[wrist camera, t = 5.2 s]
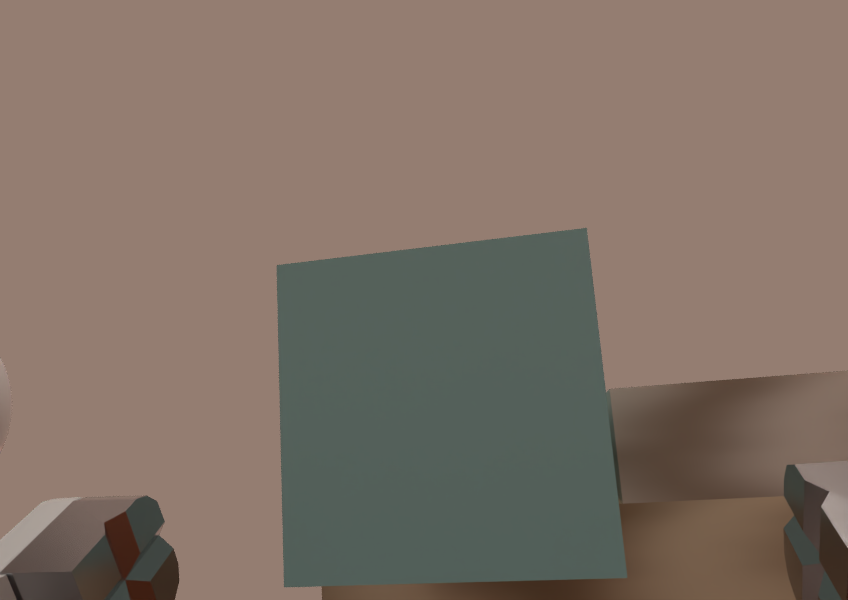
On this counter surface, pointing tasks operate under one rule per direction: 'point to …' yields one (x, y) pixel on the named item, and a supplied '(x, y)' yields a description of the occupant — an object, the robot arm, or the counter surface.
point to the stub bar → (446, 417)
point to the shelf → (691, 492)
